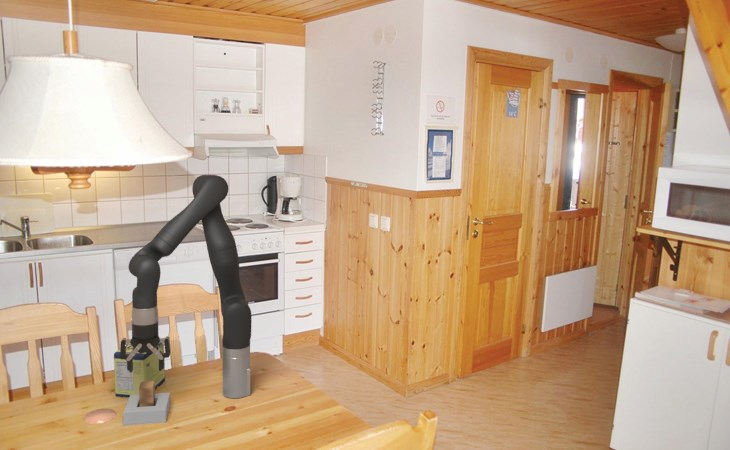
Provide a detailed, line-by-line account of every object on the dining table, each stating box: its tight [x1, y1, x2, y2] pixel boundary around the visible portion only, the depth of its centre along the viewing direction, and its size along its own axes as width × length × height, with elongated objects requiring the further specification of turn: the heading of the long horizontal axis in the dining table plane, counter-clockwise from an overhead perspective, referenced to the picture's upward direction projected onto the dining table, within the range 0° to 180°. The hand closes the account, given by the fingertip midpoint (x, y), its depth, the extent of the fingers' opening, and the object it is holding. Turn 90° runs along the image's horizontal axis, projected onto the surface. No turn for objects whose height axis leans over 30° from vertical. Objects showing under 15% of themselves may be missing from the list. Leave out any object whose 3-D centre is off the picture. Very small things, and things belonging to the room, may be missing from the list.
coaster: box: [83, 408, 117, 425], centre depth 175 cm, size 9×9×1 cm
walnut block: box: [139, 381, 156, 407], centre depth 176 cm, size 4×4×10 cm
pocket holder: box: [122, 392, 171, 427], centre depth 177 cm, size 12×12×4 cm
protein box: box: [113, 342, 166, 399], centre depth 194 cm, size 10×16×16 cm
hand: (145, 370), depth 175 cm, fingers open, 8 cm apart
